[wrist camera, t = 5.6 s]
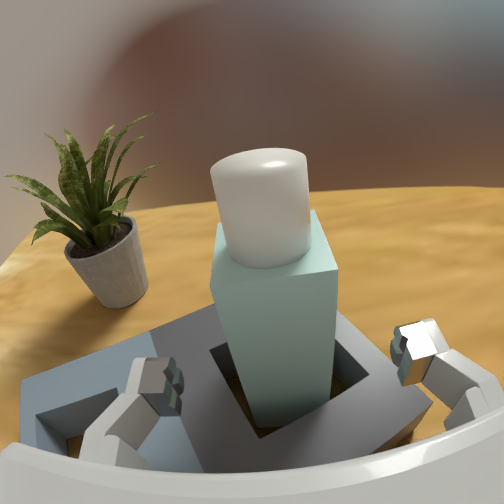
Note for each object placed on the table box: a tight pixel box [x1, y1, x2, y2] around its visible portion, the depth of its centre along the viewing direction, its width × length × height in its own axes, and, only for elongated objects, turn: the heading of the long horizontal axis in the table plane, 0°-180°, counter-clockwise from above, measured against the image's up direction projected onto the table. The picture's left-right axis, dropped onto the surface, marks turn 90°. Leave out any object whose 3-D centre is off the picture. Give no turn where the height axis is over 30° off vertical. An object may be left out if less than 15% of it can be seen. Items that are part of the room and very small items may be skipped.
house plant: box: [6, 113, 157, 308], centre depth 24 cm, size 14×14×16 cm
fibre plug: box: [210, 148, 338, 428], centre depth 14 cm, size 4×4×14 cm
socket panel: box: [20, 303, 433, 474], centre depth 15 cm, size 21×13×4 cm, turn 116°
